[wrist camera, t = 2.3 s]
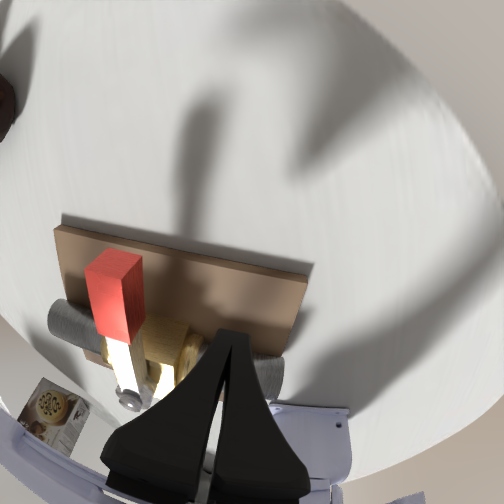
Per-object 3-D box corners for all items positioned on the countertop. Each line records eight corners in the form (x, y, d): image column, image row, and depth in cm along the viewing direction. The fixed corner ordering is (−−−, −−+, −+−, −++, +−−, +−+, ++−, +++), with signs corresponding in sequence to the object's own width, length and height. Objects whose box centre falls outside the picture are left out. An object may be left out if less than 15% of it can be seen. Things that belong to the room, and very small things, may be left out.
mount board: (306, 275, 18) (307, 283, 17) (260, 400, 25) (259, 407, 25) (60, 224, 18) (53, 229, 17) (90, 353, 25) (86, 359, 25)
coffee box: (54, 394, 35) (22, 454, 21) (42, 375, 32) (3, 440, 18) (91, 413, 35) (60, 481, 21) (80, 396, 32) (43, 470, 18)
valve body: (286, 337, 20) (286, 389, 16) (272, 374, 23) (269, 421, 18) (66, 282, 20) (35, 314, 16) (76, 321, 23) (52, 354, 18)
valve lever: (159, 392, 17) (149, 419, 15) (128, 382, 17) (116, 407, 15) (147, 256, 12) (122, 286, 10) (103, 246, 12) (74, 272, 10)
